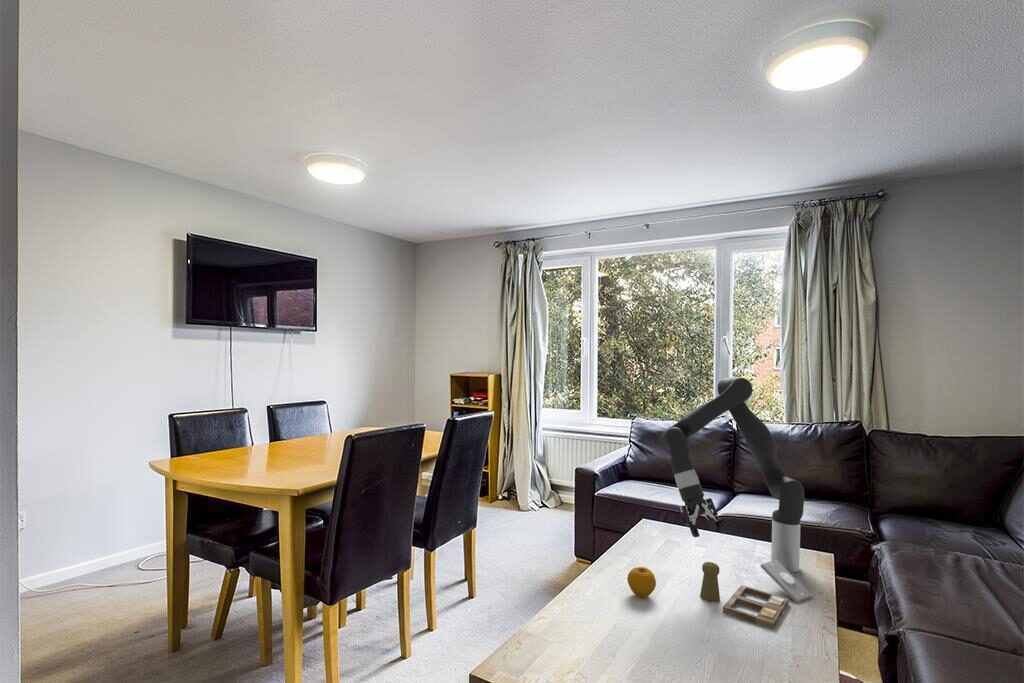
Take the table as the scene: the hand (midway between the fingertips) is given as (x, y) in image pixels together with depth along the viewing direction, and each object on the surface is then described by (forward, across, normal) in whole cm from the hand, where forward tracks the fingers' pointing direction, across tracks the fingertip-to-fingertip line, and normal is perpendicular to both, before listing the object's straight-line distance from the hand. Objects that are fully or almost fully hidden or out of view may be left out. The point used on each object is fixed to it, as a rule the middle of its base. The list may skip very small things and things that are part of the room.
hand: (705, 534), depth 172 cm
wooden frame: (+23, -2, +8) cm, 25 cm away
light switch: (+24, -21, +4) cm, 32 cm away
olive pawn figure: (+18, +6, -2) cm, 19 cm away
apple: (+13, +25, -11) cm, 30 cm away
